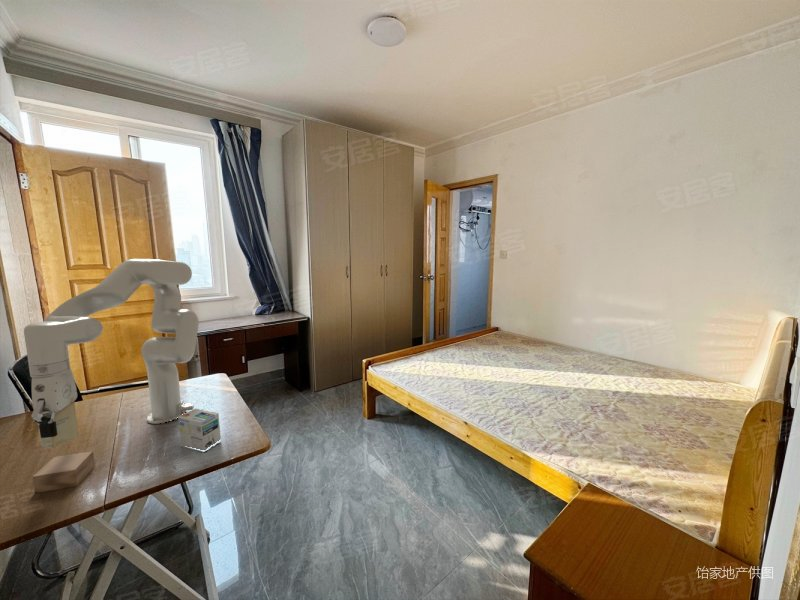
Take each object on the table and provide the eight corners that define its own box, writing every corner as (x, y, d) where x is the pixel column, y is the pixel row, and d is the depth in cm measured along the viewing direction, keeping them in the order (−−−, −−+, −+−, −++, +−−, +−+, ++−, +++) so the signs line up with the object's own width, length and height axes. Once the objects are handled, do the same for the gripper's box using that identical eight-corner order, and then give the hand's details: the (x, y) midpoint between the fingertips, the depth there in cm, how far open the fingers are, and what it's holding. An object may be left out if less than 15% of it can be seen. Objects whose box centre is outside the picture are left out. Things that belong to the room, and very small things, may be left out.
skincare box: (53, 449, 89) (47, 406, 87) (40, 447, 90) (34, 404, 88) (80, 436, 95) (74, 396, 94) (67, 434, 96) (61, 394, 94)
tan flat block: (95, 466, 100) (93, 451, 99) (77, 486, 92) (75, 469, 91) (56, 472, 97) (54, 456, 96) (35, 493, 89) (32, 476, 88)
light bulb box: (221, 442, 113) (219, 412, 111) (204, 453, 106) (201, 422, 105) (198, 436, 116) (195, 407, 114) (179, 447, 110) (177, 416, 108)
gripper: (46, 377, 83) (56, 443, 85) (85, 356, 99) (92, 413, 101) (6, 380, 80) (17, 449, 83) (53, 359, 96) (61, 416, 99)
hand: (58, 428), depth 92 cm, fingers closed on skincare box, 7 cm apart
